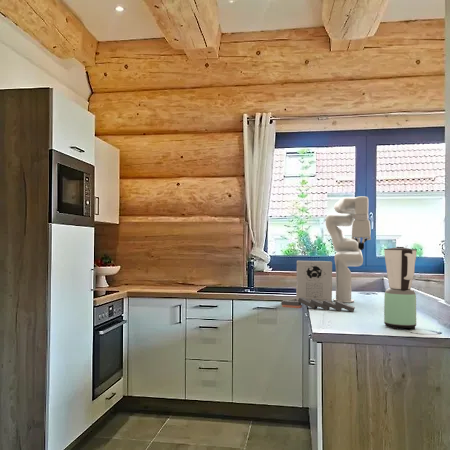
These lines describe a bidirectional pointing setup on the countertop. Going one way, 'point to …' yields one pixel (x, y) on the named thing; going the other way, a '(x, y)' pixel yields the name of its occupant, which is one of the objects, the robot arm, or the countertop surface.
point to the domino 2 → (292, 306)
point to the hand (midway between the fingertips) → (361, 249)
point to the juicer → (400, 288)
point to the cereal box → (314, 280)
